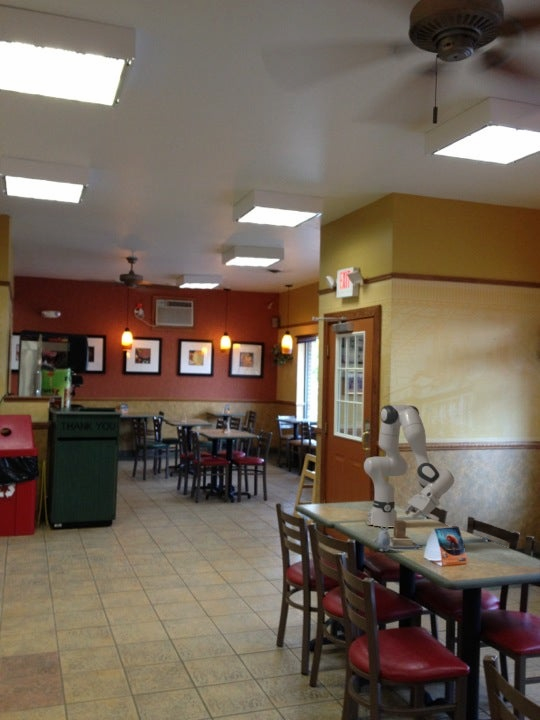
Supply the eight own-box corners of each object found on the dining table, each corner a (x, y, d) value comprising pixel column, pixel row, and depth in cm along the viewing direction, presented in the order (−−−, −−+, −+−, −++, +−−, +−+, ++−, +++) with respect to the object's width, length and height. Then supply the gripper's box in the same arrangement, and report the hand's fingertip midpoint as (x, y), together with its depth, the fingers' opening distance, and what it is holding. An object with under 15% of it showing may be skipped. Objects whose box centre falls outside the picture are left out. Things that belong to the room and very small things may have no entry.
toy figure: (375, 552, 312) (376, 527, 313) (370, 549, 318) (371, 524, 319) (396, 552, 314) (397, 527, 315) (391, 549, 320) (392, 524, 321)
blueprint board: (379, 541, 337) (379, 538, 337) (409, 541, 340) (409, 539, 340) (390, 548, 321) (390, 546, 321) (421, 549, 324) (421, 546, 324)
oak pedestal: (385, 540, 333) (386, 534, 333) (404, 541, 335) (404, 534, 335) (393, 545, 323) (393, 539, 323) (412, 546, 325) (412, 539, 325)
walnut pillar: (393, 536, 331) (394, 520, 331) (401, 536, 332) (402, 520, 332) (396, 538, 327) (397, 522, 327) (405, 538, 328) (406, 522, 328)
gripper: (416, 488, 343) (397, 506, 341) (433, 495, 322) (413, 515, 320) (424, 497, 343) (405, 515, 341) (441, 504, 323) (421, 524, 321)
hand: (409, 515), depth 331 cm, fingers open, 8 cm apart
